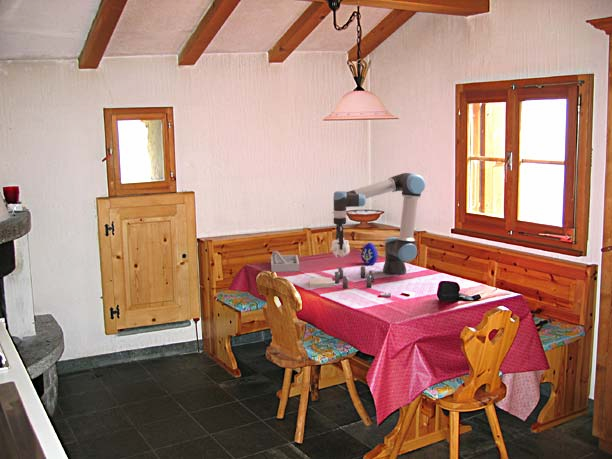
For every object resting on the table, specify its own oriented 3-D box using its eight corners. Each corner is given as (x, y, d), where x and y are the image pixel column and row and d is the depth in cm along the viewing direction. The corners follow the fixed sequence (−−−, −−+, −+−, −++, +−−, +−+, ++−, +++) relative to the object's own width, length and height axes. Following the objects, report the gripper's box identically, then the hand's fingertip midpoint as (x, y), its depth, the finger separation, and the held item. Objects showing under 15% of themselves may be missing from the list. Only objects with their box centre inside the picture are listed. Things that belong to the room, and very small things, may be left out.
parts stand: (331, 281, 427) (331, 277, 426) (333, 287, 413) (333, 283, 412) (308, 282, 426) (308, 278, 426) (310, 287, 412) (310, 283, 412)
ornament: (359, 264, 473) (359, 243, 470) (365, 262, 480) (365, 241, 478) (374, 266, 467) (374, 244, 464) (380, 263, 475) (380, 242, 472)
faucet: (295, 264, 463) (279, 243, 473) (281, 270, 459) (266, 249, 469) (294, 276, 474) (279, 256, 484) (280, 282, 470) (265, 262, 480)
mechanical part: (343, 254, 426) (343, 235, 424) (352, 257, 415) (352, 238, 413) (326, 256, 421) (326, 236, 419) (336, 259, 410) (336, 239, 409)
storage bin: (297, 261, 487) (297, 254, 486) (299, 271, 458) (299, 263, 457) (271, 262, 486) (271, 255, 485) (271, 272, 457) (271, 264, 456)
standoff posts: (370, 276, 437) (370, 266, 436) (377, 287, 409) (377, 276, 408) (332, 278, 436) (332, 267, 434) (337, 289, 408) (337, 277, 407)
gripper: (331, 214, 426) (331, 249, 430) (335, 220, 402) (335, 256, 406) (343, 214, 427) (343, 249, 430) (348, 220, 403) (348, 256, 406)
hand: (339, 252), depth 418 cm, fingers closed on mechanical part, 12 cm apart
